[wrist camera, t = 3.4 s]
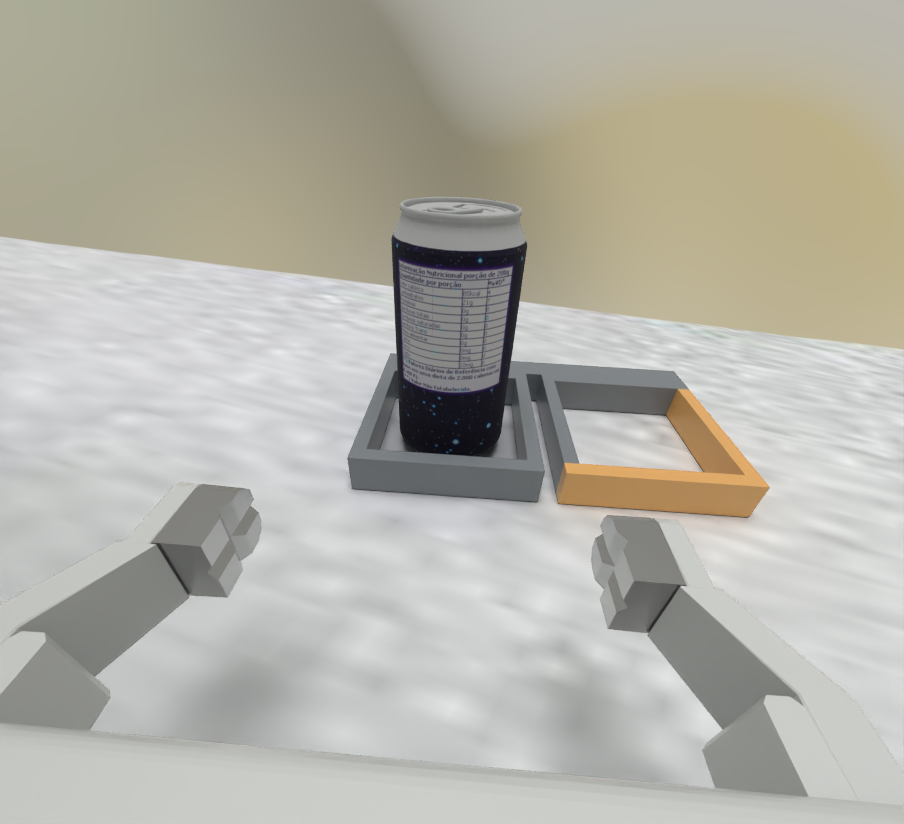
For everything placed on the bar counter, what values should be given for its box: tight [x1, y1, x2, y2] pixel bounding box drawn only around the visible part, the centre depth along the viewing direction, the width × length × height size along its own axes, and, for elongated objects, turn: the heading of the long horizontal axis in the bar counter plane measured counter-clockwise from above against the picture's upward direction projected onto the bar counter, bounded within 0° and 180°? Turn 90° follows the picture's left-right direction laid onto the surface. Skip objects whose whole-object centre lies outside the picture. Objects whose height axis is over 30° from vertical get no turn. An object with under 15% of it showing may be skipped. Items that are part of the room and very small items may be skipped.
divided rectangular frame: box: [348, 354, 770, 517], centre depth 23 cm, size 19×11×2 cm, turn 87°
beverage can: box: [392, 197, 527, 456], centre depth 19 cm, size 6×6×12 cm
